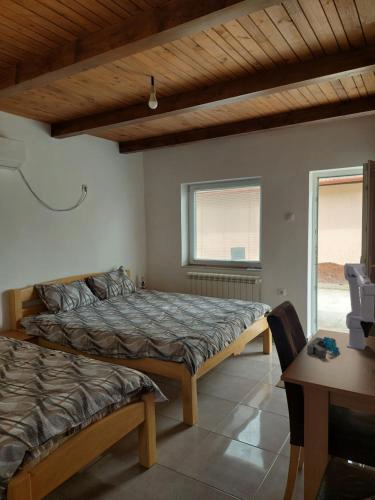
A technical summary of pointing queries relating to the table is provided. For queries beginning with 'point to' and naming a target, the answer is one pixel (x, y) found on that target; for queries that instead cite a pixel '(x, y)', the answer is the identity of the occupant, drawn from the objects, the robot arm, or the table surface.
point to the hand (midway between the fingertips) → (366, 337)
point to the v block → (318, 347)
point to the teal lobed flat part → (331, 345)
